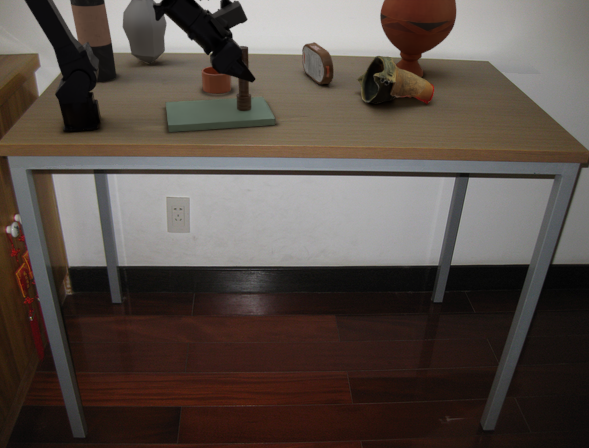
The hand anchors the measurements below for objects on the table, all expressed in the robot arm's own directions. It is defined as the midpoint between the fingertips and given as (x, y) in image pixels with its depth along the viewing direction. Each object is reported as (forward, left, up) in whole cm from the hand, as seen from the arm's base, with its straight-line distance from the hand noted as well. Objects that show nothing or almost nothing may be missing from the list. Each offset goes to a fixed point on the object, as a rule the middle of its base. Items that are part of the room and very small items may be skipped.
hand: (250, 73), depth 104 cm
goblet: (+48, +22, -9) cm, 54 cm away
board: (-7, 0, -9) cm, 11 cm away
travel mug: (-33, +30, -9) cm, 45 cm away
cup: (-5, +16, -9) cm, 19 cm away
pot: (+33, +2, -9) cm, 34 cm away
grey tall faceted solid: (-21, +40, -9) cm, 46 cm away
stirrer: (-1, 0, -8) cm, 8 cm away
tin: (+21, +21, -9) cm, 31 cm away
